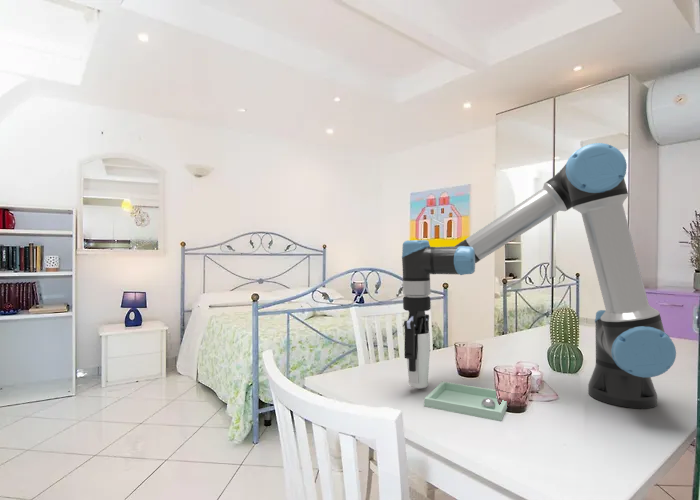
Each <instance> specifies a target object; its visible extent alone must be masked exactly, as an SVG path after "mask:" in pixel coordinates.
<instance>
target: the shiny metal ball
mask: <svg viewBox="0 0 700 500" xmlns="http://www.w3.org/2000/svg"><path fill="white" fill-rule="evenodd" d="M481 406H482V408H488V409H493V410H494V409H495V402H494V401H493V400H492V399H490V398H485V399H483V401H482V403H481Z"/></svg>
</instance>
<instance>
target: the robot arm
mask: <svg viewBox="0 0 700 500" xmlns="http://www.w3.org/2000/svg"><path fill="white" fill-rule="evenodd" d="M627 164H628V163H627V160H626V157H625V155H624V154H623V152H622V151H620V149H618V147H616V146H613V145H611V144H608V143H603V142H595V143H589V144H585V145H584V146H582V147H580V148H579V149H577V150H575V151H574V152H573V153H572V154H571V155H570V156H569V158H568V159H567V161H566V163H565V164H564V166H563V167H562V168H561V169H560V170H559V172H557V173H556V174H555V175H553V177H552V178H549V179H548V180H547V181H546V182H544V183H543V187H542V188H541V189H540V190H538V191H536V192H535V193H533V194H532V195H531V196H530V197H529V196H528V198H526V199H525V200H523V201H522V202H520V203H519V204H517V205H515V206H514V207H513V208H511V209H510V210H508V211H506V212H505V213H503V214H502V215H500V216H499V217H497V218H496V219H494V220H493V221H491V222H490V223H488V224H487V225H485V226H484V227H482V228H480V229H479V230H477V231H476V232H475V233H473V234H471V235H469V236H468V237H467V238H465V239H464V240H462V241H461V242H459V243H458V244H456V245H455V246H454V245H453V246H437V247H436V246H431V245H430V241H429V240H427V239H418V240H417V239H415V240H414V239H413V240H405V241H404V242H403V243H402V252H401V253H402V254H401V261H402V263H401V264H402V265H401V266H402V283H401V287H402V294H403V295H405V296H403V298H402V308H403V310H404V311H406V312H408V318H407V320H404V322H403V325H404V359H406V360H407V359H408V366H407V372H408V371H409V376H408V383H409V382H410V383H416V384H419V359H417V354H418V334H425V330H426V331H429V332H430V322H429V321H430V320H429V319H430V314H428V313H427V314H426V312H428V311H430V310H431V308H432V306H431V305H432V303H431V297H430V295H431V275H460V276H465V275H472V274H474V273H475V272H476V264H477V263H478V262H480V261H482V260H483V259H484V258H486V257H487V256H490V255H491V254H493V253H494V252H496V251H497V250H499V249H500V248H502V247H503V246H505V245H507V244H509V243H510V242H512V241H513V240H515V239H516V238H518V237H519V236H521V235H523V234H524V233H527V232H528V231H530V230H531V229H532V228H534V227H536V226H538V225H539V224H540V223H542V222H544V221H546V220H547V219H548V218H551V216H553V215H555V214H556V213H558V212H559V211H560V212H566V211H567V212H568V210H570V209H572V210H574V211H577V212H578V213H580V214H581V217H582V221H583V225H584V229H585V233H586V236H587V237H586V238H587V242H588V244H589V248H590V252H591V257H592V261H593V264H594V268H595V273H596V276H597V277H596V278H597V281H598V284H599V288H600V293H601V297H602V301H603V304H604V309H600V310H597V312H596V313H595V319H594V324H595V366H594V368H593V371H592V374H591V376H590V378H589V379H590V380H589V381H588V384H587V385H588V389H587V391H588V392H587V393H588V395H589V396H590V397H592V398H593V399H595V400H598V401H600V402H602V403H606V404H609V405H613V406H618V407H623V408H632V409H650V408H654V407H657V406H658V394H657V391H656V389H655V385H654V383H653V380H652V378H654V377H658V376H660V375H662V374H665V373H666V372H667V371H668V370H670V368H671V367H672V366H673V365H674V363H675V361H676V357H677V350H676V345H675V344H674V342H673V341H672V338H671V337H670V335H669V334H668V333H667V332H665V327H664V326H663V321H662V316H661V313H660V311H659V310H657V309H656V308H654V307H652V306H651V305H650V304H649V300H648V296H647V293H646V288H645V284H644V281H643V277H642V274H641V273H642V272H641V269H640V265H639V261H638V257H637V253H636V250H635V245H634V242H633V239H632V235H631V231H630V227H629V223H628V220H627V216H626V212H625V208H624V203H625V201H626V199H628V196H629V191H628V189H627V185H626V181H625V177H626V175H627V174H626V173H627V166H628V165H627ZM415 334H416V335H415Z"/></svg>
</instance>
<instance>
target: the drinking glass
mask: <svg viewBox="0 0 700 500" xmlns="http://www.w3.org/2000/svg"><path fill="white" fill-rule="evenodd" d="M415 335H416V334H415ZM430 355H431V333H430V330H429V331H426V330H425V334H418V354H417V359H419V384H416V383H410V382H409V381H408V385H409V387H410V388H412V389H413V388H414V389H425V388H428V386H429V370H430V358H431V357H430ZM406 363H407V367H408V359H406ZM407 375H408V377H409V371H408V370H407Z"/></svg>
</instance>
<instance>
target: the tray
mask: <svg viewBox="0 0 700 500" xmlns="http://www.w3.org/2000/svg"><path fill="white" fill-rule="evenodd" d="M495 390H496V389H495V388H494V389H492V388H488V387H480V386H473V385H467V384H462V383H457V382H456V383H455V382H450V381H442V380H441V382H440V383H439V384H438V385H437V386H436V387H435V388H433V390H431V391H430V392H429V393H428V394H427V395H426V396H425V397H424V398H423V399H424V401H423V403H424V404H423V405H424V407H426V408H431V409H435V410H442V411H445V412H450V413H451V412H452V413H458V414H460V415H461V414H462V415H468V416H472V417H478V418H484V419H487V420H492V421H498V422H502V420H503V417H504V415H505V414H506V411H507V410H508V407H507V401H504V400H502V402H501V404H500V405H499V404H498V402H497V398H496V391H495ZM485 398H490V399H492V400H493V401H494V402H495V409H494V410H493V409H488V408H482V406H481V403H482V401H483V399H485Z"/></svg>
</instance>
